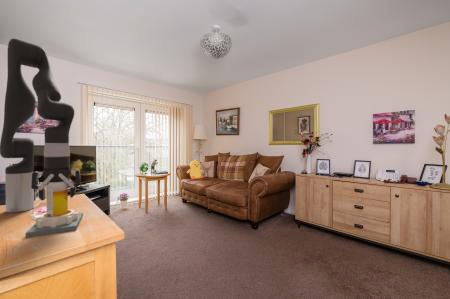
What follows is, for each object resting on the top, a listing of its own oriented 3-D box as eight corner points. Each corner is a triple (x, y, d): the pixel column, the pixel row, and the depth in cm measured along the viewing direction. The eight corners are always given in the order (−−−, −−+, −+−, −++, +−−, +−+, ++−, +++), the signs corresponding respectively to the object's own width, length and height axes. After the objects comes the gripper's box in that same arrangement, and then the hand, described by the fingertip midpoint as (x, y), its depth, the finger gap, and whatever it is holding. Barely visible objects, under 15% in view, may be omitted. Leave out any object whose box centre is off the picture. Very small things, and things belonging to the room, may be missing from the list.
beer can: (71, 218, 80) (71, 180, 80) (57, 224, 74) (57, 182, 74) (57, 218, 81) (57, 179, 80) (42, 223, 75) (41, 182, 74)
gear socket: (41, 221, 81) (41, 210, 81) (83, 215, 88) (82, 205, 87) (25, 237, 67) (25, 223, 67) (76, 229, 73) (76, 217, 73)
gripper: (81, 154, 83) (82, 194, 84) (35, 155, 77) (36, 198, 77) (78, 155, 77) (79, 198, 77) (28, 156, 70) (28, 203, 71)
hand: (57, 198), depth 77 cm, fingers open, 8 cm apart
